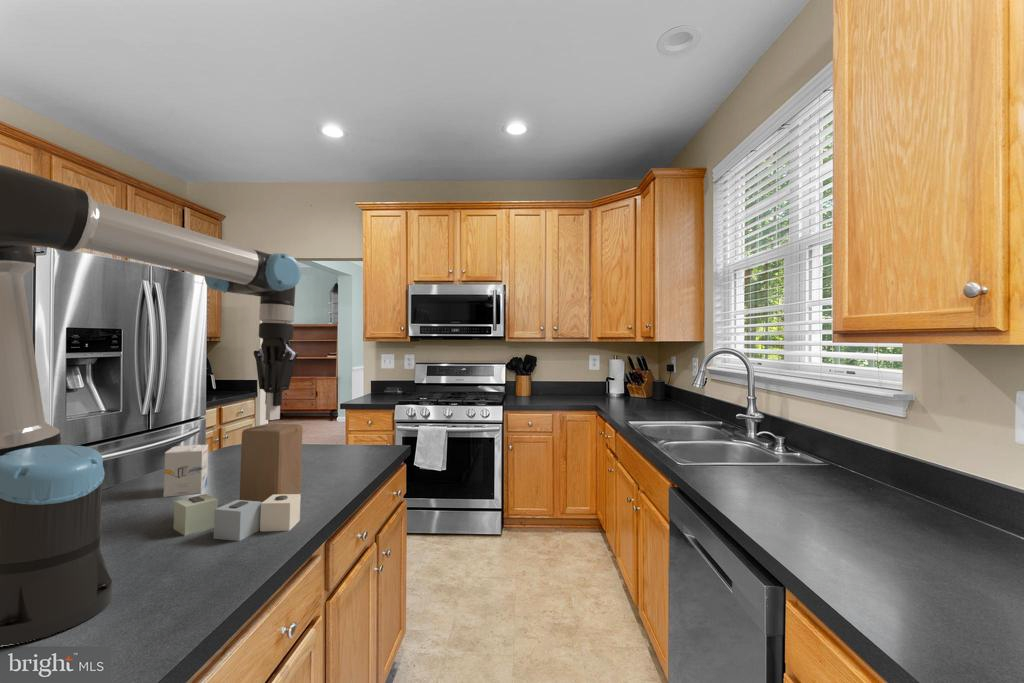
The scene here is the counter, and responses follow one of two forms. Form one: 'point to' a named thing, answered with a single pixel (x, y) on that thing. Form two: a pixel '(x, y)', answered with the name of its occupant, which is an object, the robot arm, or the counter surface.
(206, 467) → the ink box
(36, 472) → the robot arm
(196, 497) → the marked cube sage
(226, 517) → the marked cube slate
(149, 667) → the counter surface
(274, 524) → the marked cube cream
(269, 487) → the wooden block
